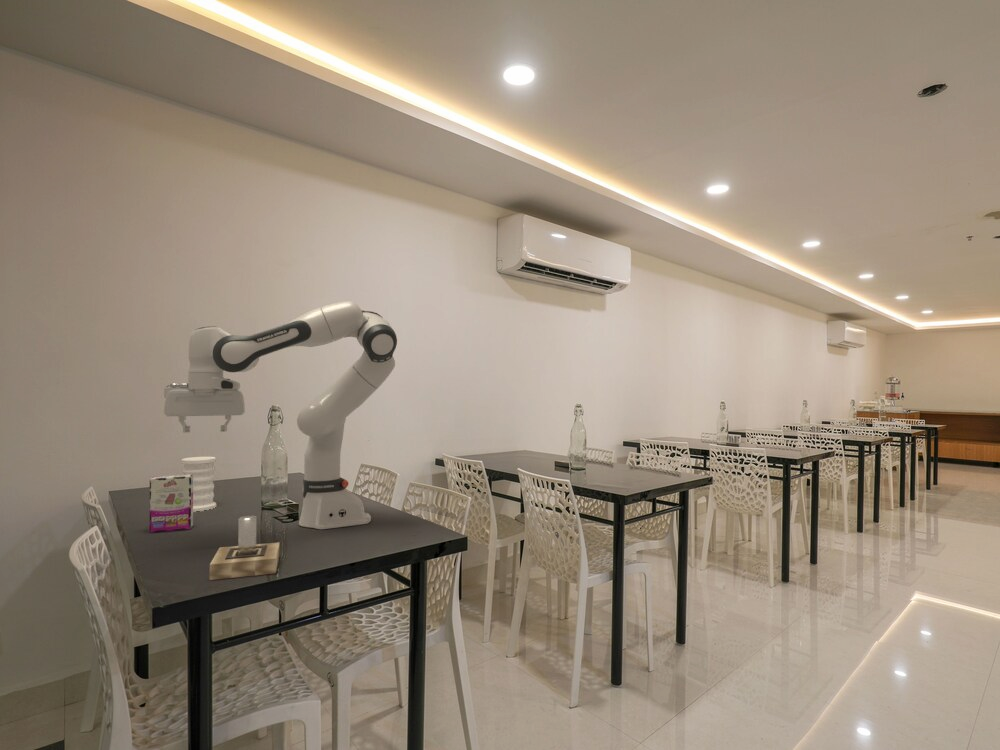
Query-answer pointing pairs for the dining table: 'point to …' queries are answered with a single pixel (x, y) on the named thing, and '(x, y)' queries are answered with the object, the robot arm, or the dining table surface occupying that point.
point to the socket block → (244, 562)
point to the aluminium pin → (247, 535)
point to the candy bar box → (171, 503)
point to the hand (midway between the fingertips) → (205, 431)
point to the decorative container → (201, 481)
